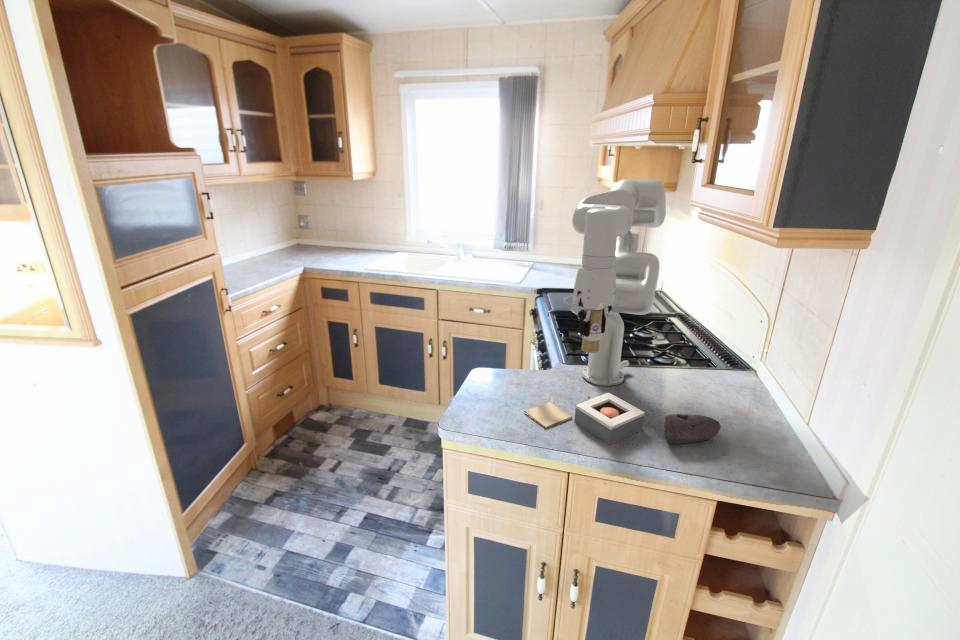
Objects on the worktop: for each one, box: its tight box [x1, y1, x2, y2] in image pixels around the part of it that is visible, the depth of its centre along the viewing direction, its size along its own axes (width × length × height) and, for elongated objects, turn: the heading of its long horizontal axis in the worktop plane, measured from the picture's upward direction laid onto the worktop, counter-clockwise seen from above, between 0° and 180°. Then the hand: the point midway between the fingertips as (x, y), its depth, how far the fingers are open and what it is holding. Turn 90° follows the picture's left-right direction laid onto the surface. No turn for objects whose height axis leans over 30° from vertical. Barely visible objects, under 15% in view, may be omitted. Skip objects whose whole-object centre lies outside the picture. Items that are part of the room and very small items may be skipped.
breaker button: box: [600, 407, 619, 419], centre depth 117 cm, size 5×5×2 cm
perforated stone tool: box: [664, 413, 721, 444], centre depth 111 cm, size 15×5×7 cm, turn 95°
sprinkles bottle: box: [580, 303, 604, 354], centre depth 115 cm, size 5×5×14 cm
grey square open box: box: [574, 392, 646, 446], centre depth 117 cm, size 12×12×5 cm
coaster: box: [523, 401, 573, 429], centre depth 123 cm, size 9×9×1 cm
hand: (591, 332), depth 115 cm, fingers closed on sprinkles bottle, 4 cm apart
